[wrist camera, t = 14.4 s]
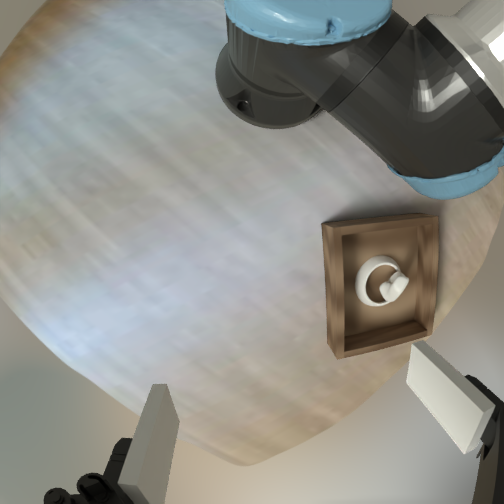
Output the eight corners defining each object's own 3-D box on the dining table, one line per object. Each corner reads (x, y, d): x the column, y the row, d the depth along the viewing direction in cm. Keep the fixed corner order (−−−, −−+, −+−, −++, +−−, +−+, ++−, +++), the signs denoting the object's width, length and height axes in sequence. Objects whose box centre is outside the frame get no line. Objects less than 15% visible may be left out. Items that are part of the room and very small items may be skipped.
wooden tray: (321, 223, 39) (332, 227, 35) (419, 213, 40) (438, 216, 35) (327, 342, 43) (337, 359, 38) (416, 322, 44) (431, 334, 39)
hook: (372, 225, 34) (424, 251, 31) (370, 253, 44) (409, 273, 41) (344, 281, 33) (397, 309, 30) (348, 296, 44) (387, 317, 41)
